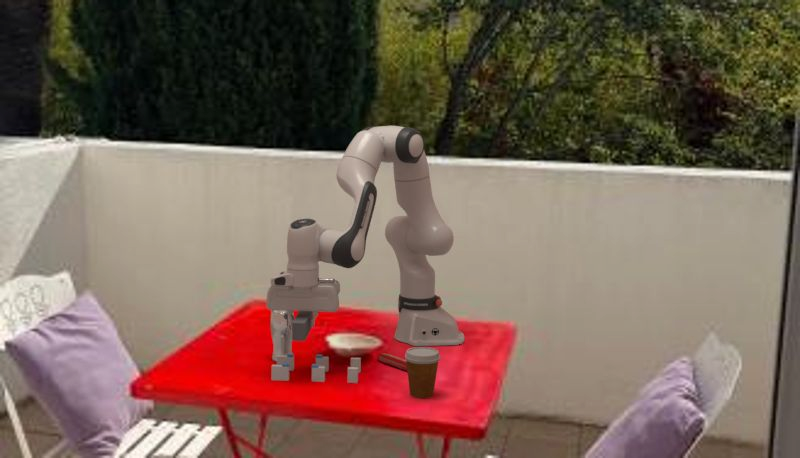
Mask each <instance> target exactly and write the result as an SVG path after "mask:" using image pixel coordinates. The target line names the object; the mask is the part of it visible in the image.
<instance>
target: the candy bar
mask: <svg viewBox="0 0 800 458" xmlns="http://www.w3.org/2000/svg"><path fill="white" fill-rule="evenodd" d="M376 358H377V360H378V361H379V362H381V363H383V364H387V365H390V366H392V367H395V368H398V369H401V370H404V371H407V372H408V370H407V361H406V358H405V359H404V358H401V357H398V356H396V355H393V354H390V353H387V352H386V353H385V352H380V353H378V355H377V356H376Z"/></svg>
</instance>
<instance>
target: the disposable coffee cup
mask: <svg viewBox="0 0 800 458" xmlns="http://www.w3.org/2000/svg"><path fill="white" fill-rule="evenodd" d="M404 358H405V360H406V361H407V370H408V371H407V377H408V379H407V380H408V388H409V395H410V396H411V397H413V398H417V399H428V398H431V397H433V396H434V391H435V384H436V380H437V378H436V377H437V373H438V365H439V361H440V359H441V355H440V353H439V350H438V349H436V348H433V347H429V346H414V347H410V348H408V349H407V350H406V352H405V355H404Z"/></svg>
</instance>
